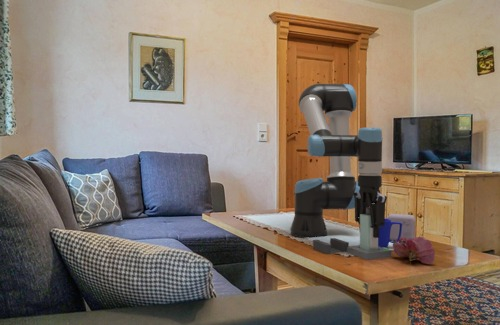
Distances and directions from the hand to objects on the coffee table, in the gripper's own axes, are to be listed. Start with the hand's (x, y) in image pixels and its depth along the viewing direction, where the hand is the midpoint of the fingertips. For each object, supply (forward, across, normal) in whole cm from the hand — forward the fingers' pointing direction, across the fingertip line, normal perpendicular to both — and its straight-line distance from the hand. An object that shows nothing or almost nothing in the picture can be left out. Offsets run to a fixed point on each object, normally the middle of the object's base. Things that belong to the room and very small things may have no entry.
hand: (368, 245), depth 129 cm
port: (+4, 0, 0) cm, 4 cm away
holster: (+4, -10, -8) cm, 13 cm away
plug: (+2, 0, 0) cm, 2 cm away
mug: (+4, -8, +14) cm, 17 cm away
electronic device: (+4, -14, +28) cm, 32 cm away
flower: (+4, +11, +8) cm, 14 cm away
